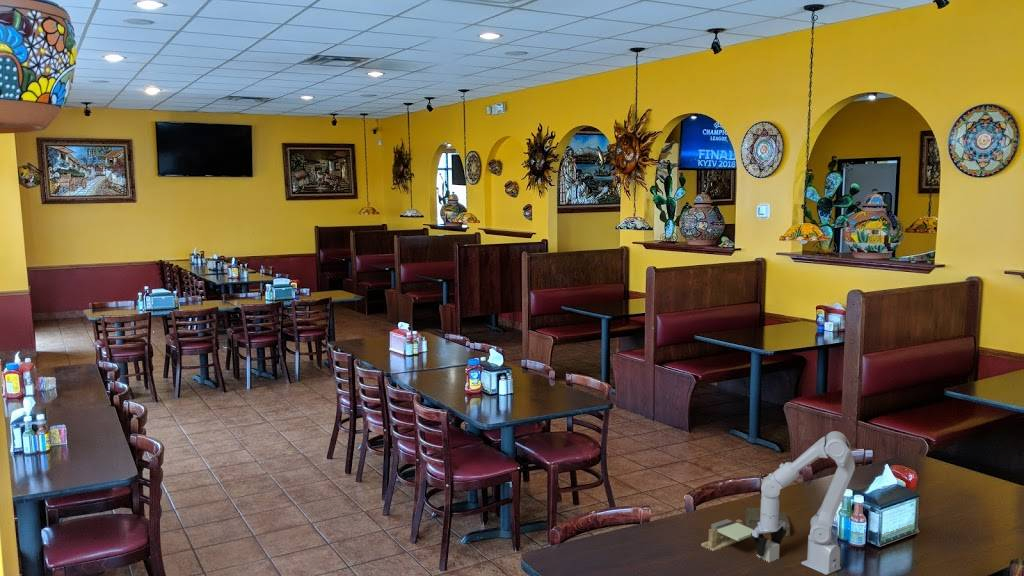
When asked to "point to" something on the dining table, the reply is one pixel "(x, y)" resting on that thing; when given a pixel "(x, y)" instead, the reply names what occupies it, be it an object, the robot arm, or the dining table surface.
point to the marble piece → (754, 518)
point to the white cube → (771, 551)
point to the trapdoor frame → (719, 538)
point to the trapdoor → (732, 529)
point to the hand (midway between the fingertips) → (767, 552)
